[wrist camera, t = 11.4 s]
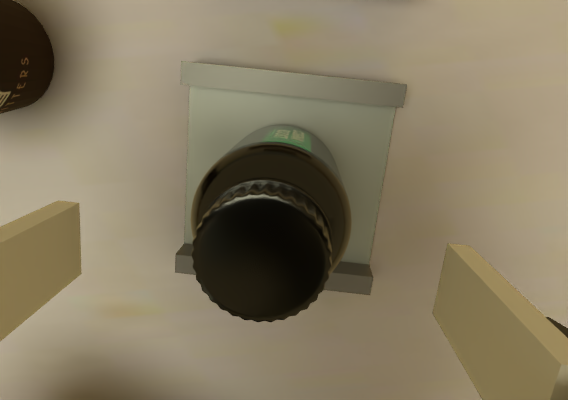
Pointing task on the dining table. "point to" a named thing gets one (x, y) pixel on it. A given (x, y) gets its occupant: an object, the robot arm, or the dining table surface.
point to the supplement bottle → (270, 224)
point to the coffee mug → (22, 57)
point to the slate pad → (304, 114)
